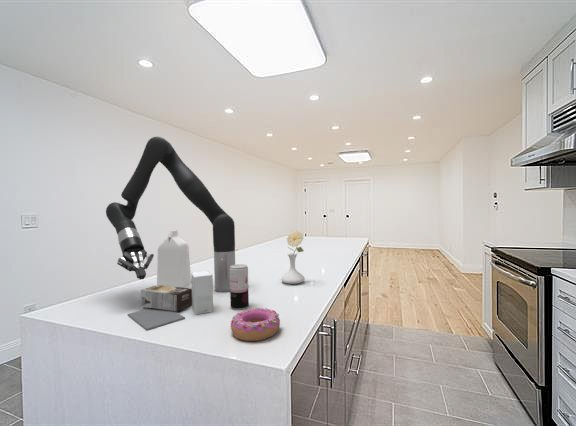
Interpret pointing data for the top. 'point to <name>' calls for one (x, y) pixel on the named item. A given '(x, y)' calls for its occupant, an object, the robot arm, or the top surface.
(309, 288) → the top surface
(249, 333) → the donut
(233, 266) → the beverage can
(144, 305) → the coffee box
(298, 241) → the flower in vase
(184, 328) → the top surface
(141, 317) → the mat
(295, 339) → the top surface
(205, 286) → the small box
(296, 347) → the top surface
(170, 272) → the milk
